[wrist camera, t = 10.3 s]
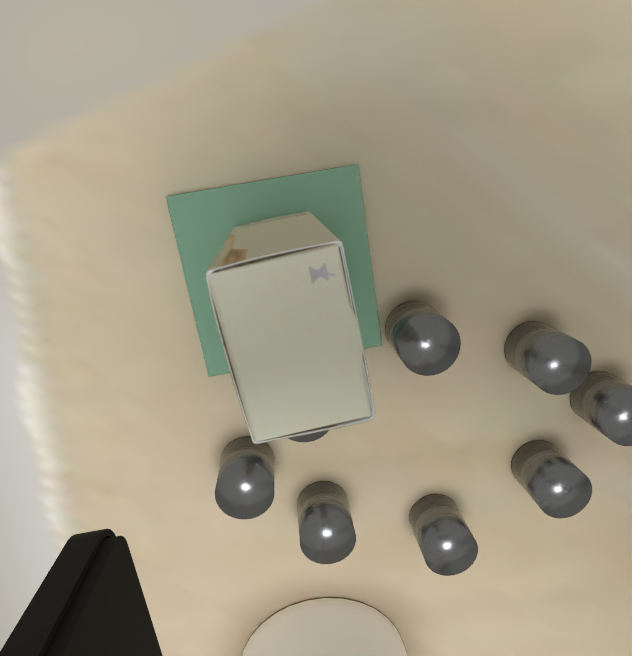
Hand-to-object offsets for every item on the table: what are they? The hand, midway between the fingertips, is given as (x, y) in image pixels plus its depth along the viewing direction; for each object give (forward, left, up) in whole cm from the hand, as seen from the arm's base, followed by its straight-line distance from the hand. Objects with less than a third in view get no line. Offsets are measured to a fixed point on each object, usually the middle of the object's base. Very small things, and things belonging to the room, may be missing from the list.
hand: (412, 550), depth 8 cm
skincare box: (+1, -1, -20) cm, 20 cm away
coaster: (+2, -2, -21) cm, 21 cm away
